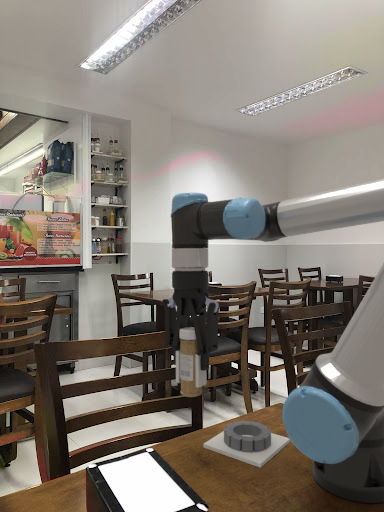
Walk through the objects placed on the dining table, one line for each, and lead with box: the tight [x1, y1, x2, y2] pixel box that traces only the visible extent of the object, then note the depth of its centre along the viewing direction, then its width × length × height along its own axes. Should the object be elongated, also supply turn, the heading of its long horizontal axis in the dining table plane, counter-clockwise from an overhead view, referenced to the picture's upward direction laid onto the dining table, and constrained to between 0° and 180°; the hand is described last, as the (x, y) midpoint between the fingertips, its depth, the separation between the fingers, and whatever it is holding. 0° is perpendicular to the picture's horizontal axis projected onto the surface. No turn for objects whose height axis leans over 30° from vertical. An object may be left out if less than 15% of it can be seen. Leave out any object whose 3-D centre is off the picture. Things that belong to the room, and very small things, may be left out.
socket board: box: [202, 420, 291, 469], centre depth 91 cm, size 14×14×3 cm
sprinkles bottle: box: [179, 326, 203, 398], centre depth 84 cm, size 5×5×14 cm
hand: (191, 383), depth 84 cm, fingers closed on sprinkles bottle, 4 cm apart
